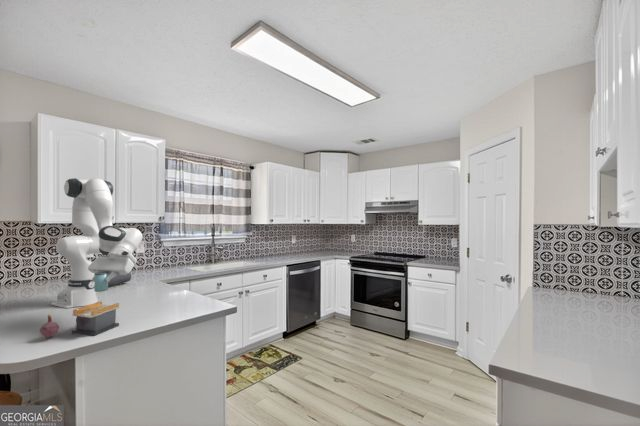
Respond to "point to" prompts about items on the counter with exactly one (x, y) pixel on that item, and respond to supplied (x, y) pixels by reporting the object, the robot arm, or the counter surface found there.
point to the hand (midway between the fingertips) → (100, 280)
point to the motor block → (95, 318)
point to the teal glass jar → (100, 282)
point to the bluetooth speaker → (119, 280)
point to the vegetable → (49, 328)
